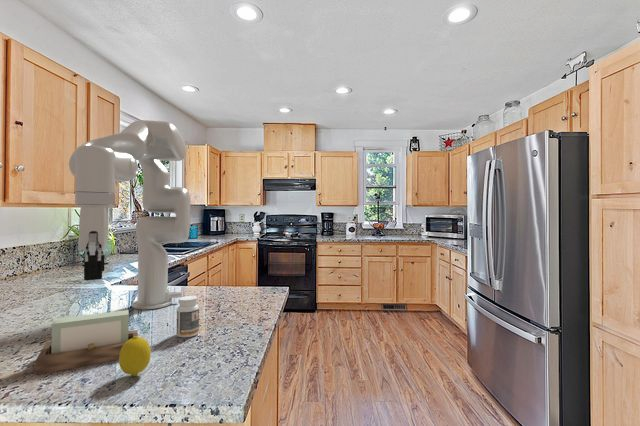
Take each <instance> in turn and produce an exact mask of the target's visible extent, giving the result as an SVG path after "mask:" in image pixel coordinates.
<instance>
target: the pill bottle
mask: <svg viewBox="0 0 640 426" xmlns="http://www.w3.org/2000/svg"><path fill="white" fill-rule="evenodd" d="M197 302H198V297H197V296H196V295H186V296H181V297H180V298H178V304H179V306H177V308H176V331H175V332H176V336H177V337H178V338H191V337H195V336H196V335H198V334H199V333H200V308H199V307H200V306H199V305H198V304H197Z"/></svg>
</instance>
